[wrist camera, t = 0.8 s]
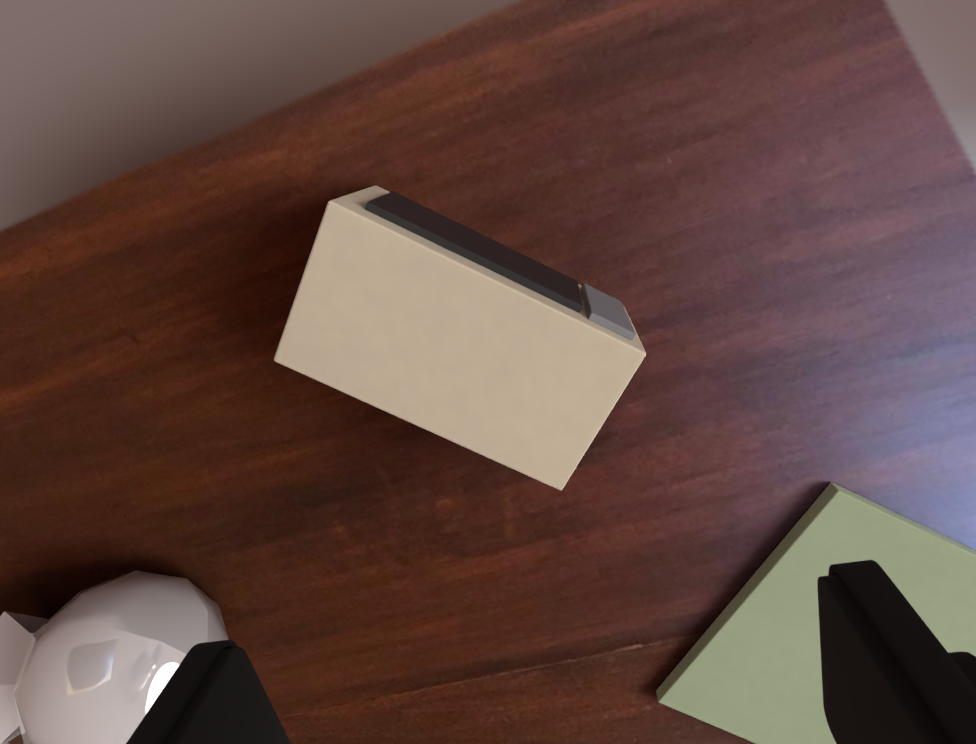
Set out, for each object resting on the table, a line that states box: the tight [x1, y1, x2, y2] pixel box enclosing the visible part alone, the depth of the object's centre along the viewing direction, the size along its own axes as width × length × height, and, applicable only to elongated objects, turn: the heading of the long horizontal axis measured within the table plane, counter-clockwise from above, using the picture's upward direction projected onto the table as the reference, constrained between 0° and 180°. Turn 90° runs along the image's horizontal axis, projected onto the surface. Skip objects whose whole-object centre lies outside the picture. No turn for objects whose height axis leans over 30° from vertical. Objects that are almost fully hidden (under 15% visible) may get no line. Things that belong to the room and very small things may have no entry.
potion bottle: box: [0, 571, 228, 744], centre depth 32 cm, size 9×10×15 cm
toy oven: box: [274, 186, 646, 490], centre depth 24 cm, size 7×12×6 cm, turn 65°
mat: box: [656, 483, 976, 744], centre depth 32 cm, size 16×16×1 cm
